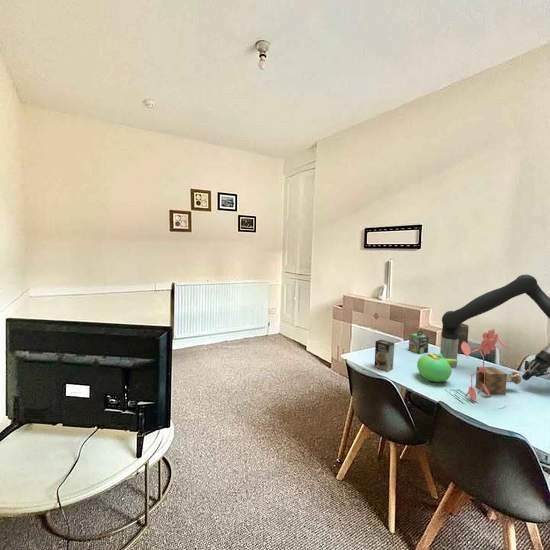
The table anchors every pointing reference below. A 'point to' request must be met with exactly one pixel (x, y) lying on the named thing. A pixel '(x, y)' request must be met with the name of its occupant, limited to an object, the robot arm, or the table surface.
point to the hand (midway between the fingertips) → (523, 378)
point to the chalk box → (418, 343)
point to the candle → (462, 336)
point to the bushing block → (492, 381)
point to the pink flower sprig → (487, 346)
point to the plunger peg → (513, 378)
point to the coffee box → (384, 355)
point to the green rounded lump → (435, 367)
